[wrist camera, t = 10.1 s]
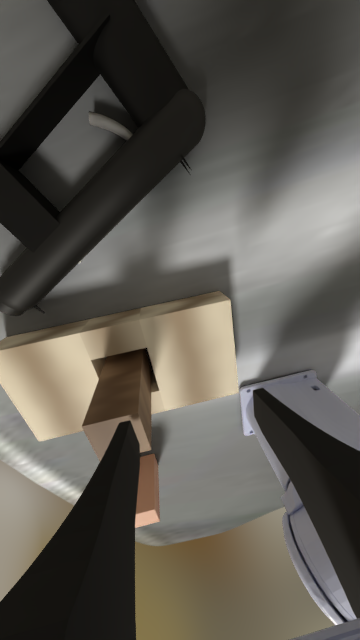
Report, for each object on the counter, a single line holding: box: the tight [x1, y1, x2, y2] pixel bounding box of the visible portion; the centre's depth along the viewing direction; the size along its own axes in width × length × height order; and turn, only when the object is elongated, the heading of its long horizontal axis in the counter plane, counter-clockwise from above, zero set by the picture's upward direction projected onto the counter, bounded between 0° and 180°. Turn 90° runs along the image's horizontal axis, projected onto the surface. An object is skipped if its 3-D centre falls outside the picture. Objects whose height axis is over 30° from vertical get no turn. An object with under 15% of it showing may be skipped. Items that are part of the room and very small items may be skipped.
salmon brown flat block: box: [135, 454, 160, 528], centre depth 24 cm, size 6×2×6 cm, turn 100°
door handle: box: [0, 0, 205, 316], centre depth 13 cm, size 3×20×16 cm
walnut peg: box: [82, 348, 151, 461], centre depth 17 cm, size 3×3×9 cm
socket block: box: [0, 291, 239, 441], centre depth 20 cm, size 20×10×3 cm, turn 100°
